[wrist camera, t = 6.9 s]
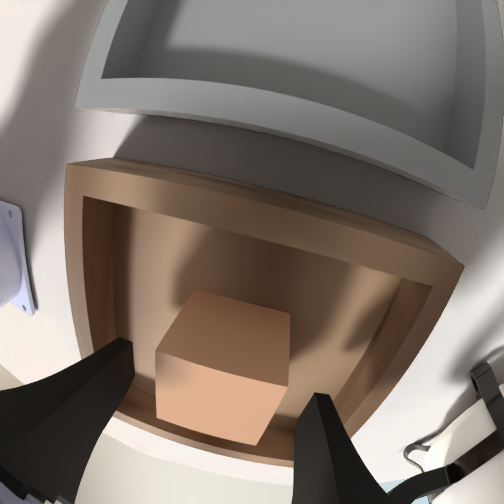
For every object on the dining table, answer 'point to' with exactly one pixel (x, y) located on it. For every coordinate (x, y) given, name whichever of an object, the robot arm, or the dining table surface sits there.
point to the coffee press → (464, 453)
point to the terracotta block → (223, 367)
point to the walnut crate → (248, 286)
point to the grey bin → (318, 77)
